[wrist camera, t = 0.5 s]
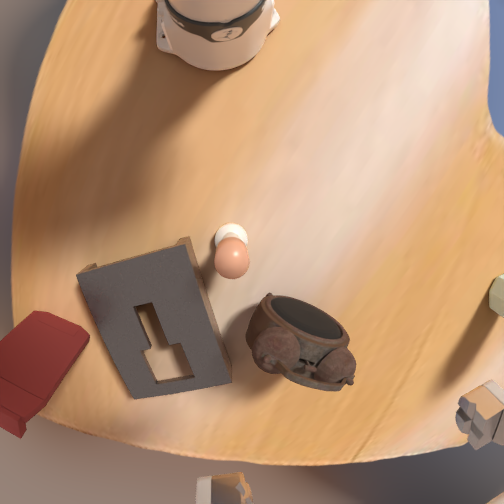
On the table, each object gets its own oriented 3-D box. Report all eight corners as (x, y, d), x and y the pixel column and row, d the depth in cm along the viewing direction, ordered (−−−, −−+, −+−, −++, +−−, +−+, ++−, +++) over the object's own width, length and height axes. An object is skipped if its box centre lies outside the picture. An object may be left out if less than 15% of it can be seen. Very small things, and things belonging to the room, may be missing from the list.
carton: (36, 328, 51) (-34, 404, 27) (37, 307, 50) (-41, 380, 26) (89, 352, 53) (33, 445, 29) (92, 331, 52) (29, 423, 28)
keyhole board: (139, 382, 55) (134, 399, 50) (88, 265, 49) (75, 274, 44) (231, 365, 55) (231, 382, 50) (189, 236, 49) (185, 243, 44)
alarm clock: (336, 304, 53) (384, 370, 34) (317, 339, 55) (354, 415, 36) (256, 275, 51) (272, 340, 32) (239, 315, 53) (246, 393, 33)
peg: (211, 227, 49) (205, 247, 37) (242, 219, 49) (247, 237, 37) (219, 257, 50) (217, 286, 38) (250, 249, 50) (257, 276, 38)
